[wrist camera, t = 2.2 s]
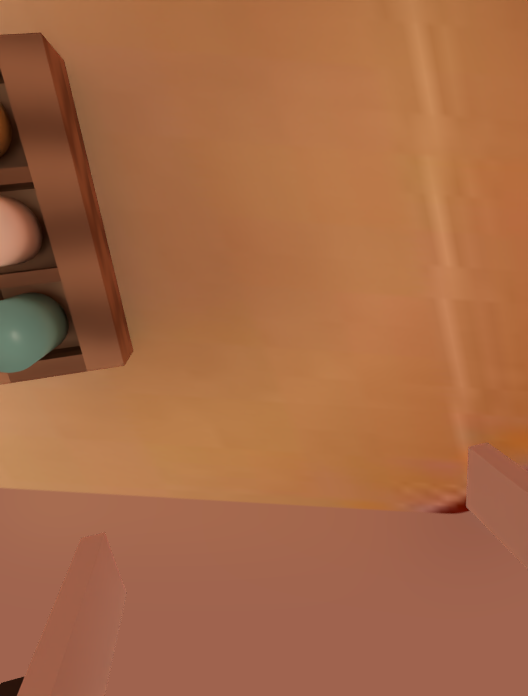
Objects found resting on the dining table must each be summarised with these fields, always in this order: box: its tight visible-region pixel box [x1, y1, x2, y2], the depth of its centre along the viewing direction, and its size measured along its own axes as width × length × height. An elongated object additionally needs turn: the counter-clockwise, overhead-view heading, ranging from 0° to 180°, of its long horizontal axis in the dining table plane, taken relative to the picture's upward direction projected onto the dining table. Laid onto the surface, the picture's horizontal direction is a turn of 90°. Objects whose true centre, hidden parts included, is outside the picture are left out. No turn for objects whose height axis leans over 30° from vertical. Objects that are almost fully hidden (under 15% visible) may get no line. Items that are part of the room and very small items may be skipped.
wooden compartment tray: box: [0, 33, 133, 385], centre depth 28 cm, size 23×12×4 cm, turn 6°
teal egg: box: [0, 292, 69, 373], centre depth 26 cm, size 5×5×5 cm
